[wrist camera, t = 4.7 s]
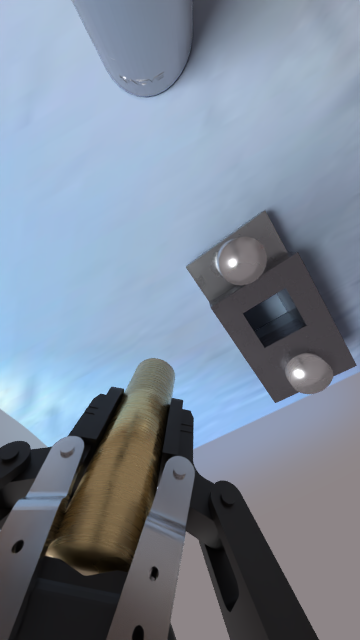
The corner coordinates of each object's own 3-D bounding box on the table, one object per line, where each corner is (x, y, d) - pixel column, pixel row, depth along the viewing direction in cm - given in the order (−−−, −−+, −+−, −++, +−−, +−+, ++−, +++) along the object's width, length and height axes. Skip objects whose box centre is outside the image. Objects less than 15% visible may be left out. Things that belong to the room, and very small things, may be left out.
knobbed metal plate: (186, 265, 26) (183, 270, 20) (258, 214, 24) (279, 202, 18) (263, 379, 31) (279, 411, 25) (330, 346, 28) (366, 373, 22)
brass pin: (137, 355, 15) (39, 532, 6) (177, 362, 15) (146, 554, 6) (133, 388, 16) (45, 587, 7) (171, 395, 16) (137, 606, 7)
